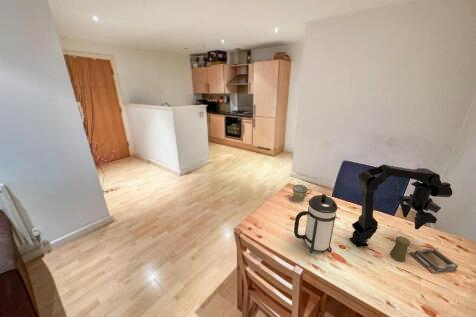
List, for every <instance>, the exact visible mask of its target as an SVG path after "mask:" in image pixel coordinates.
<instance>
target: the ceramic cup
mask: <svg viewBox="0 0 476 317" xmlns="http://www.w3.org/2000/svg"><path fill="white" fill-rule="evenodd" d="M308 191H309V192H308ZM307 192H308V193H307ZM292 193H293V200H295V201H294V202H296V203H303V202H304V201H305V198H306V196H308V195H309V194H311V193H312V189H310V188H307V186H306V185H303V184H294V185H292Z"/></svg>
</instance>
